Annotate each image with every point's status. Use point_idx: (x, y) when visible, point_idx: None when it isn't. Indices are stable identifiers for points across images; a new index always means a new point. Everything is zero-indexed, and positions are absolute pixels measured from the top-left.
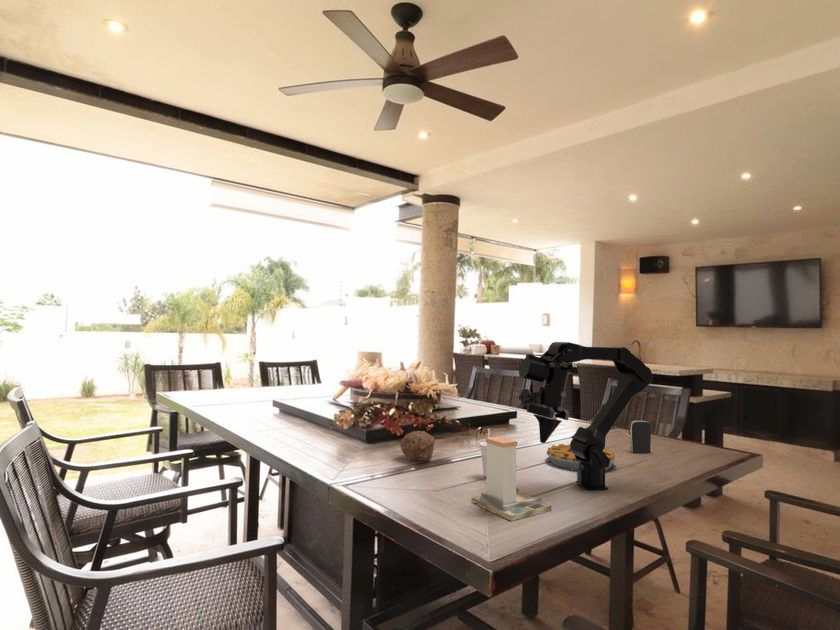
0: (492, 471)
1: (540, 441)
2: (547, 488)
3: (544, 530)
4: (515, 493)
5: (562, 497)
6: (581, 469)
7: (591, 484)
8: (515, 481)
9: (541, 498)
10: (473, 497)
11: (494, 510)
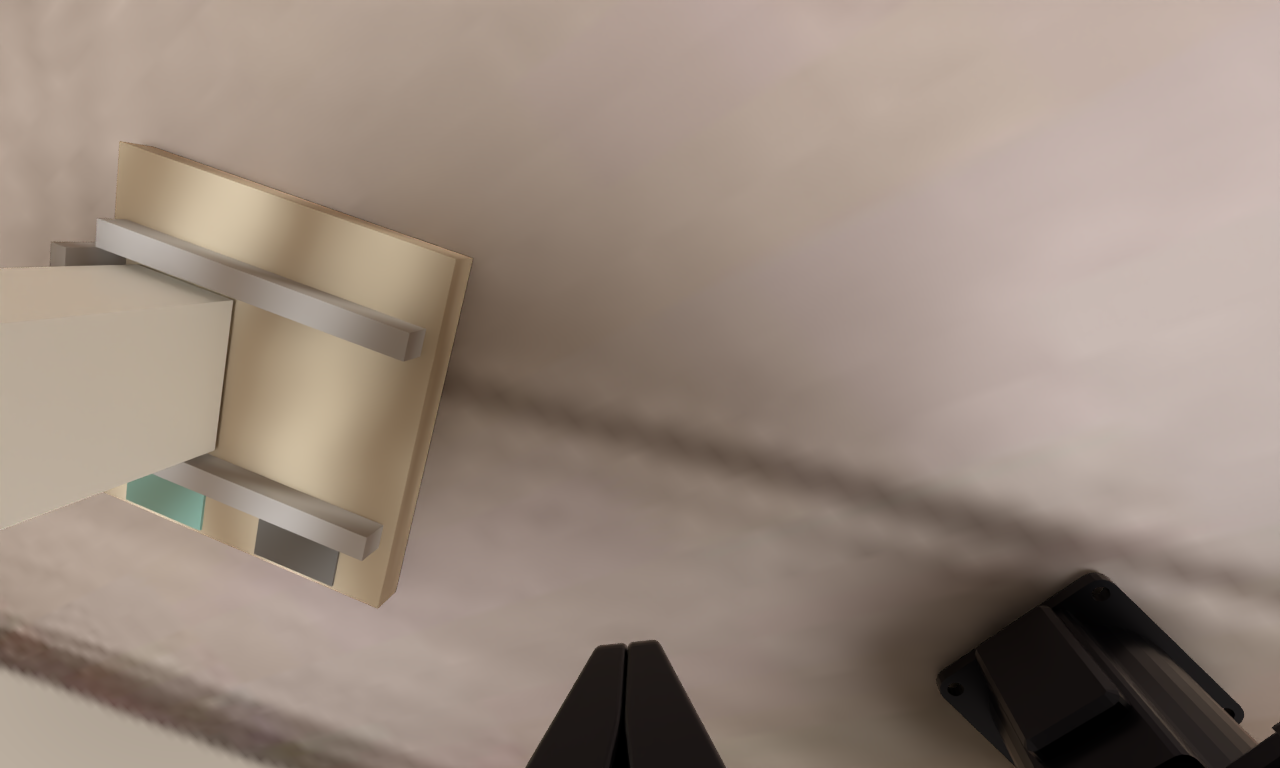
0: None
1: (596, 656)
2: (780, 427)
3: (168, 638)
4: (140, 475)
5: (655, 578)
6: (1068, 743)
7: (998, 729)
8: (44, 510)
9: (361, 559)
10: (124, 153)
11: None
